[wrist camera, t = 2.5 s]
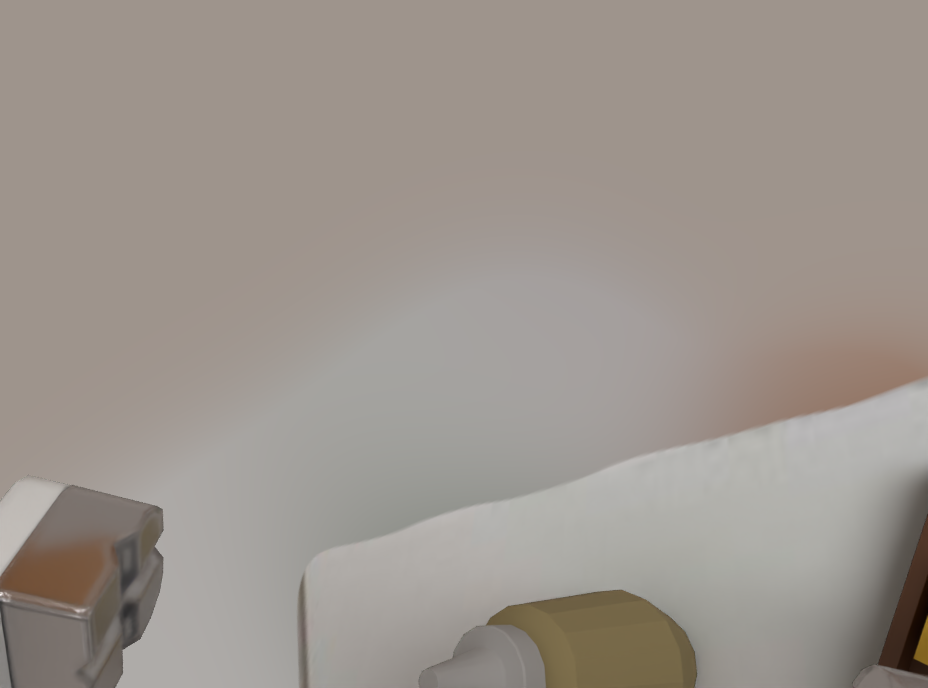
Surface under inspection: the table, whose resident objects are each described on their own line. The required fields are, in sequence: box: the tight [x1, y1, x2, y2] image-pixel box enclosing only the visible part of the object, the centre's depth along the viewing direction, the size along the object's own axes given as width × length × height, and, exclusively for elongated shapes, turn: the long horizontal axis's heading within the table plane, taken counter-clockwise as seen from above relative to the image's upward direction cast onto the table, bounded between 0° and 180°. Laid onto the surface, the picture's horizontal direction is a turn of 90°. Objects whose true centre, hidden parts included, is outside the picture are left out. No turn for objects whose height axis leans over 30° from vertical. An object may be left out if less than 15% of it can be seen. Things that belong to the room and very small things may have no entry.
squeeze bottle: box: [419, 590, 697, 688], centre depth 44 cm, size 8×8×18 cm
